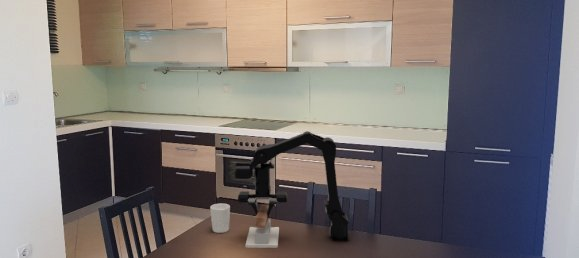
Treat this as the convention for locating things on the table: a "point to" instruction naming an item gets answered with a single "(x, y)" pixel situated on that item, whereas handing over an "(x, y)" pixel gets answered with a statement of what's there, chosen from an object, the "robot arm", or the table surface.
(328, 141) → the robot arm
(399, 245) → the table surface
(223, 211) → the white cup
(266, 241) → the display stand
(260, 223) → the terracotta bar
